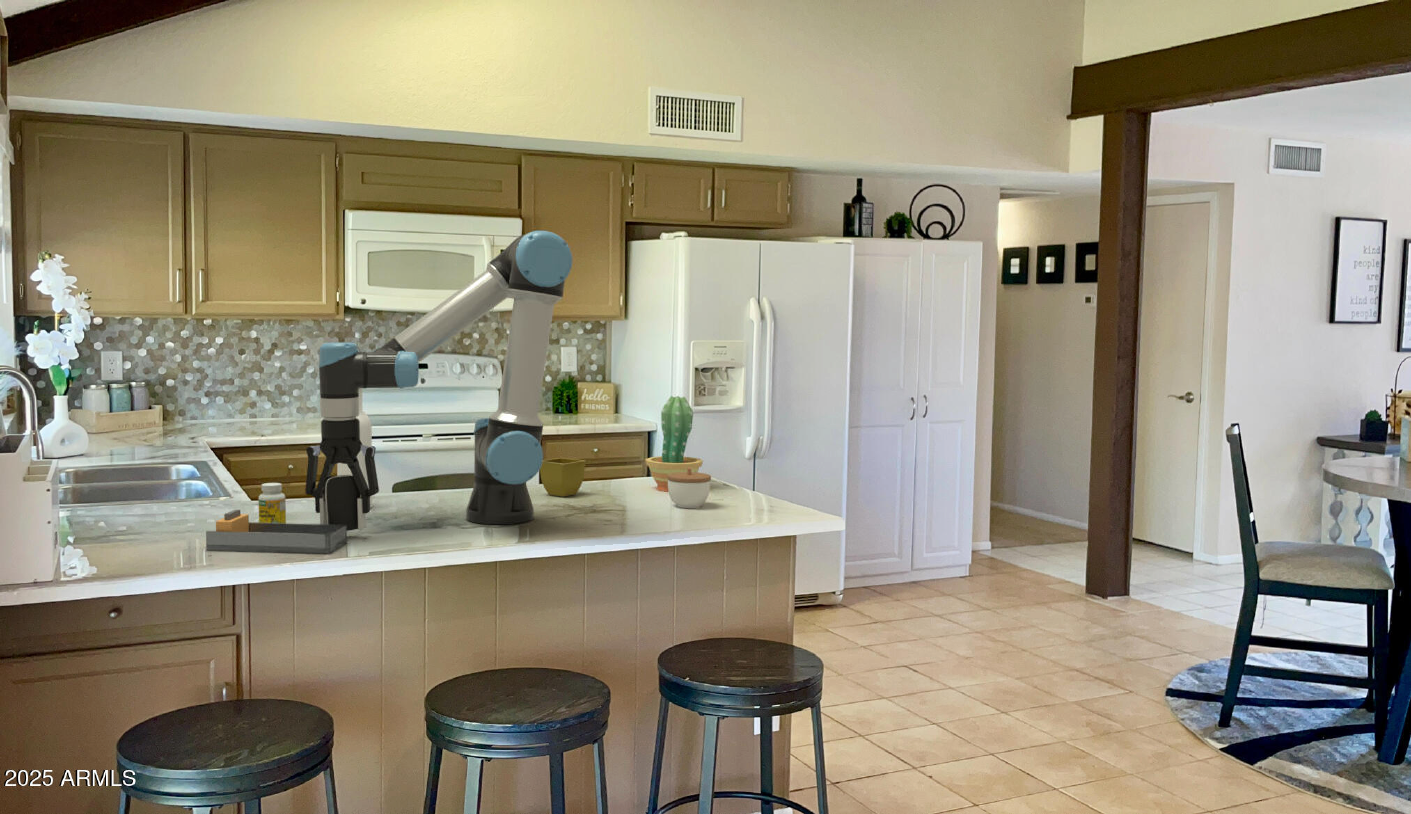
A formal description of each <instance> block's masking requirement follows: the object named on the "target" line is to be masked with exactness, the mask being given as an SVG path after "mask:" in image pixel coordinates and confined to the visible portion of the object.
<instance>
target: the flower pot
mask: <svg viewBox="0 0 1411 814" xmlns="http://www.w3.org/2000/svg"><path fill="white" fill-rule="evenodd" d="M585 468H586V460H582V459H576V458H573V459H572V458H566V457H557V458H556V457H555V458H551V459H550V458H549V459H543V462H542V465H541V468H540V470H539V472H540V479H541V482H542V485H543V488H544V489H545V491H546V493H547V494H548V495H550V496H554V497H555V496H557V497H562V498H564V497H568V496H574V495H576V494H577V493H578V491H579V490H580V488H581V486H582V485H583V481H584V476H585Z"/></svg>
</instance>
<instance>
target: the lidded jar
mask: <svg viewBox="0 0 1411 814" xmlns="http://www.w3.org/2000/svg"><path fill="white" fill-rule="evenodd" d="M667 479H668V495H669V498H670V499H671V502H672V503H673V504H675V506H676V507H677V508H680V509H698V508H699V509H700V508H701V507H702V505H703V504H704V503H705V502H706V501H707V499H708V497H709V494H710V490H711V480H712V476H711V475H710V474H708V473H706V472H705V473H704V472H691V468H688V469H687V472H676V473H670V474H668V475H667Z"/></svg>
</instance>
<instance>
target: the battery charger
mask: <svg viewBox="0 0 1411 814" xmlns="http://www.w3.org/2000/svg"><path fill="white" fill-rule="evenodd" d="M323 497H324V501H325V504H326V516H327V524H329V525H347V532H349V531H356V530H358V502H357V499H358V498H360V497H361V495H360V492H359V490H358V487H357V485H356V483H355V480H354V478H353V475H338V476H337V475H331V476H330V477H328V478H327V479H326V480H325V482H324V495H323Z"/></svg>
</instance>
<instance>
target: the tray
mask: <svg viewBox="0 0 1411 814" xmlns="http://www.w3.org/2000/svg"><path fill="white" fill-rule="evenodd" d="M347 532H348V531H347V525H329V524H320V523H292V522H291V523H290V522H286V523H259V521H258V522H251V521H249V532H234V531H216V530H206V531H205V543H206V544H205V548H206V549H205V550H206V551H214V552H215V551H217V552H218V551H220V552H221V551H222V552H252V553H253V552H254V553H257V552H258V553H282V554H283V553H285V554H287V553H288V554H292V553H293V554H316V555H317V554H321V555H322V554H325V555H329V554H331V553H333V552H335V551H336V550H338V549H340V548H341V547H343V546H344V545H346V544H347V543H348V541H347V540H348V537H347V536H348V533H347Z"/></svg>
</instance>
